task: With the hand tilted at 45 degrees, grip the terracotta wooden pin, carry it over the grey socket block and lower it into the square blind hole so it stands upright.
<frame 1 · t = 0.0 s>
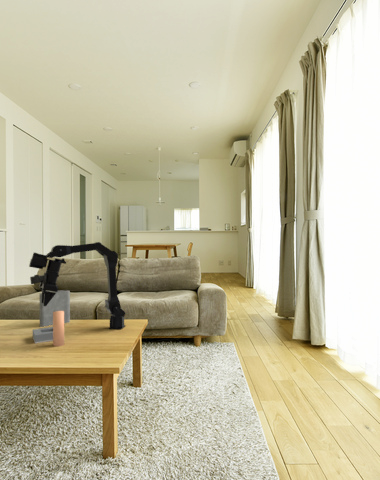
hand: (43, 304, 143), 15 cm above the table, tool pointing down, fingers open, 9 cm apart
pin: (58, 344, 133), on the table
hip flask: (54, 324, 171), on the table
socket block: (47, 338, 143), on the table
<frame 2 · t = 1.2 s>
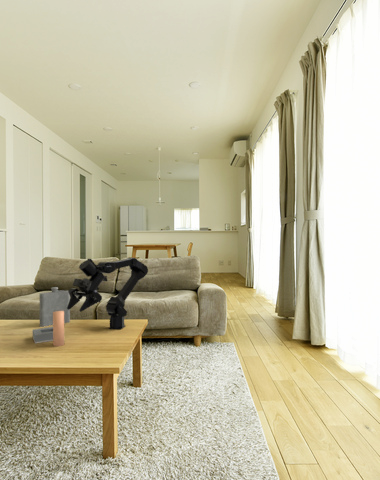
hand: (73, 310, 140), 13 cm above the table, tool tilted 45°, fingers open, 9 cm apart
nothing on the table moved.
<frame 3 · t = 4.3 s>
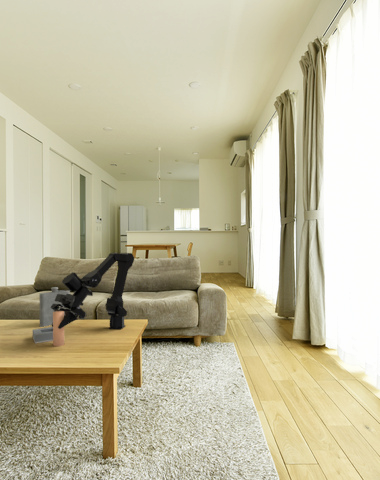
hand: (55, 327, 132), 8 cm above the table, tool tilted 45°, fingers closed on pin, 4 cm apart
pin: (58, 344, 133), on the table, touching gripper
everything else where it was.
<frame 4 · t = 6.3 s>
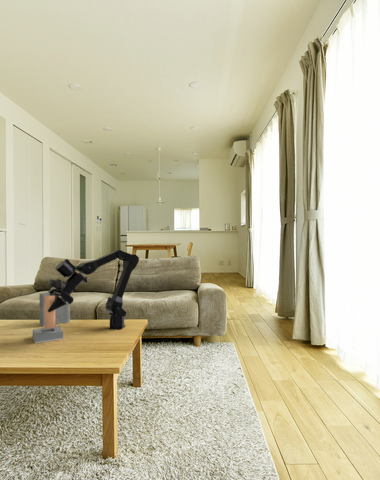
hand: (46, 310, 139), 13 cm above the table, tool tilted 45°, fingers closed on pin, 4 cm apart
pin: (50, 327, 139), point 6 cm above the table, touching gripper
everything else where it was.
when the fingers open (9 cm above the table, at t = 8.6 s): pin stays where it is, resting on socket block.
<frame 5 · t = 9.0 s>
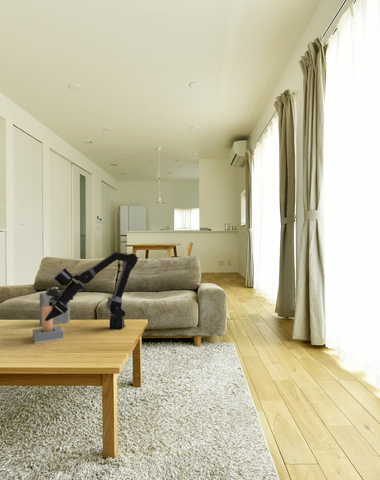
hand: (44, 318, 143), 9 cm above the table, tool tilted 45°, fingers open, 9 cm apart
pin: (47, 336, 143), point 1 cm above the table, touching socket block
everything else where it was.
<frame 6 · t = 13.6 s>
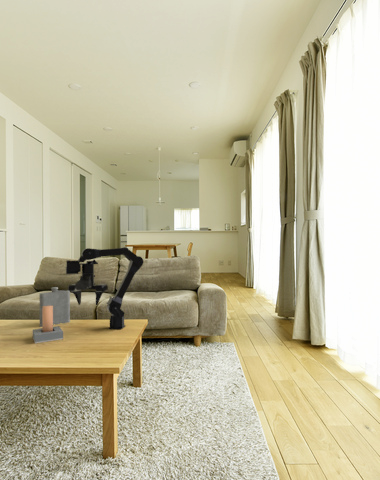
hand: (88, 304, 155), 13 cm above the table, tool pointing down, fingers open, 9 cm apart
nothing on the table moved.
at the end: pin 0.0 cm off-centre on the socket block, point 0.5 cm above the socket block's base; pin tilted 0°; the gripper is holding nothing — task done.
